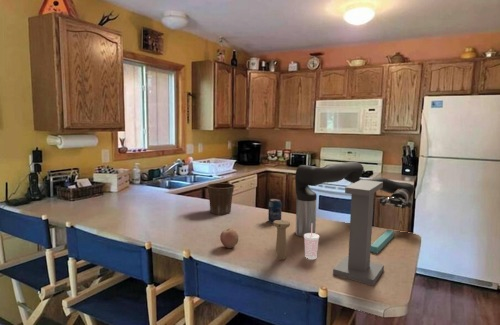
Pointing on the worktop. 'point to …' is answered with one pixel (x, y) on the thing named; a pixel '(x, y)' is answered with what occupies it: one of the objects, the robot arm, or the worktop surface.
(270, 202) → the soda can
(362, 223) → the gray stand
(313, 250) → the beverage cup
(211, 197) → the plant pot
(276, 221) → the handle
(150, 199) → the worktop surface
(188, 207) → the worktop surface
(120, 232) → the worktop surface
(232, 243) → the apple
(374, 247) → the teal bar
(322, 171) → the robot arm
